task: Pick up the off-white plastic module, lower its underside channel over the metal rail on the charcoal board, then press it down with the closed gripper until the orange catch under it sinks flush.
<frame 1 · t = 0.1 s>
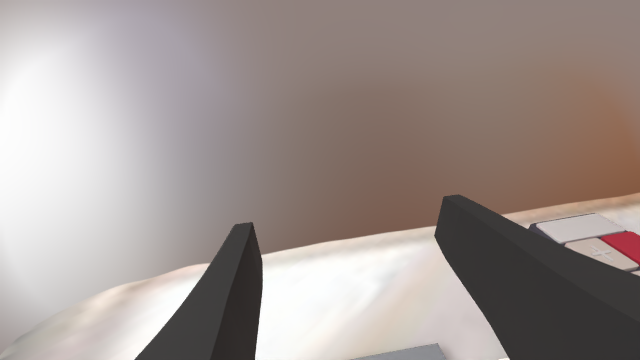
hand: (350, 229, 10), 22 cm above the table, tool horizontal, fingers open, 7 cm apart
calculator: (608, 277, 34), on the table
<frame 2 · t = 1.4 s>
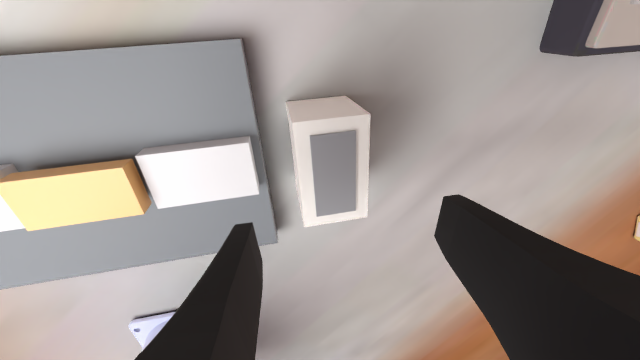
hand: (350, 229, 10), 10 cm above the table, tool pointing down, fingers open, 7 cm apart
catch: (80, 194, 15), point 3 cm above the table, slide at 0.0 cm
module: (319, 144, 19), on the table
rail board: (107, 171, 17), on the table
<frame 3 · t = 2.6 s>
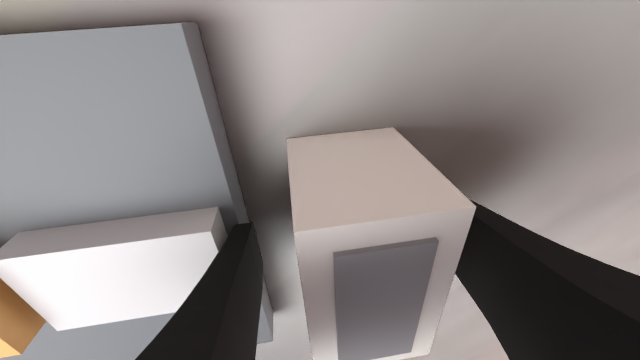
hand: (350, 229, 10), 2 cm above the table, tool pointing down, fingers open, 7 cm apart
module: (341, 203, 11), on the table
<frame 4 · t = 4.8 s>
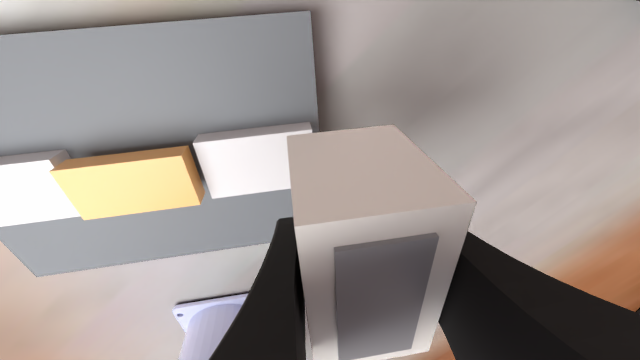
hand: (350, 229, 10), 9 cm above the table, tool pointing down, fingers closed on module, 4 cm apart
catch: (135, 183, 14), point 3 cm above the table, slide at 0.0 cm
module: (342, 201, 11), point 7 cm above the table, touching gripper
rail board: (156, 157, 16), on the table
when the fingers open (5 cm above the table, at t = 6.4 s): module drops 1 cm, resting on catch.
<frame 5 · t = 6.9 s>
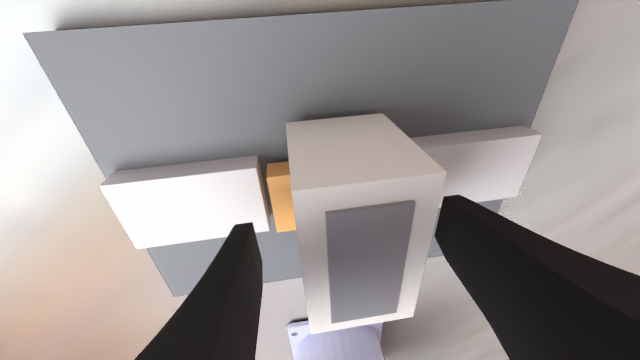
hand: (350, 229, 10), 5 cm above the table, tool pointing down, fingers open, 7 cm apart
catch: (337, 190, 12), point 3 cm above the table, slide at 0.3 cm, touching module
module: (336, 184, 13), point 2 cm above the table, touching catch
rail board: (328, 164, 14), on the table
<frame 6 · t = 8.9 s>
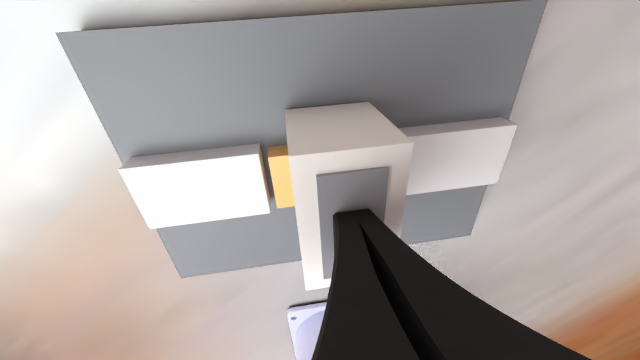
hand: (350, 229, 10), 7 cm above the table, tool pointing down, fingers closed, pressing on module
catch: (330, 171, 14), point 2 cm above the table, slide at 0.8 cm, touching module, rail board
module: (329, 166, 14), point 2 cm above the table, touching catch, gripper
rail board: (324, 154, 16), on the table
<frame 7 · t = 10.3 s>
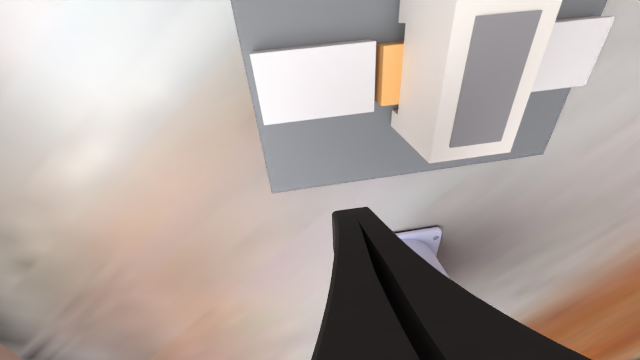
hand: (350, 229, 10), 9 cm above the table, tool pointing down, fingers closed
catch: (431, 69, 15), point 2 cm above the table, slide at 0.8 cm, touching module, rail board
module: (429, 66, 15), point 2 cm above the table, touching catch
rail board: (414, 63, 16), on the table
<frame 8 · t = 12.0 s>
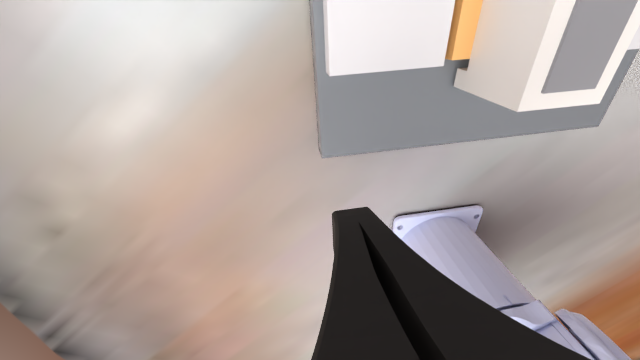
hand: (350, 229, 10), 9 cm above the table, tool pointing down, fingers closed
catch: (505, 22, 14), point 2 cm above the table, slide at 0.8 cm, touching module, rail board
module: (502, 19, 14), point 2 cm above the table, touching catch
rail board: (479, 21, 16), on the table
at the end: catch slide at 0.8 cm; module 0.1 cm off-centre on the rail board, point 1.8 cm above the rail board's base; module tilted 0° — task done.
